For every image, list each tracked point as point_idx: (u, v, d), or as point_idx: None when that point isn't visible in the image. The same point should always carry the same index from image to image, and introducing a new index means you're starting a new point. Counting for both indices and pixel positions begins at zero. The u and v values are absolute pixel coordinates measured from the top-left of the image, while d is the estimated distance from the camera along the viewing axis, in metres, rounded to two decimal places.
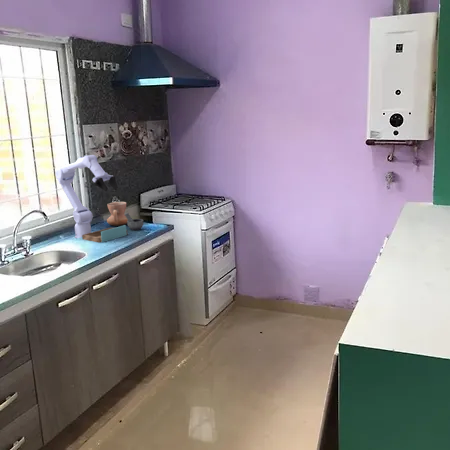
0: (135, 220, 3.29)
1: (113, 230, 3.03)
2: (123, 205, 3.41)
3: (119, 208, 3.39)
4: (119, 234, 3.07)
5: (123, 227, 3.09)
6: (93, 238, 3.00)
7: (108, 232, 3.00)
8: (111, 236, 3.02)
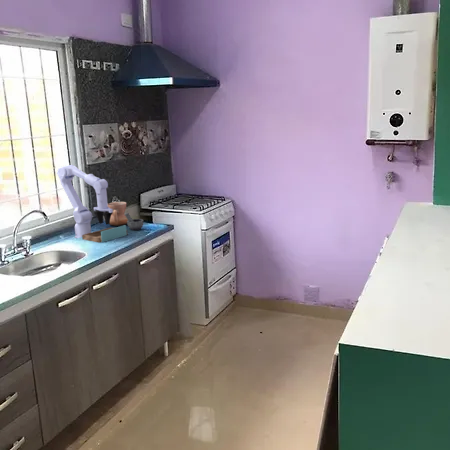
0: (135, 220, 3.29)
1: (113, 230, 3.03)
2: (123, 205, 3.41)
3: (119, 208, 3.39)
4: (119, 234, 3.07)
5: (123, 227, 3.09)
6: (93, 238, 3.00)
7: (108, 232, 3.00)
8: (111, 236, 3.02)
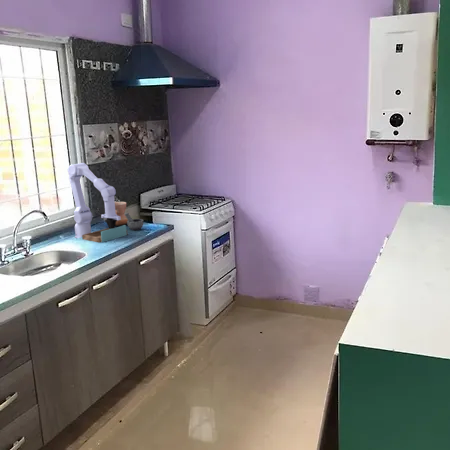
0: (135, 220, 3.29)
1: (113, 230, 3.03)
2: (123, 205, 3.41)
3: (119, 208, 3.39)
4: (119, 234, 3.07)
5: (123, 227, 3.09)
6: (93, 238, 3.00)
7: (108, 232, 3.00)
8: (111, 236, 3.02)
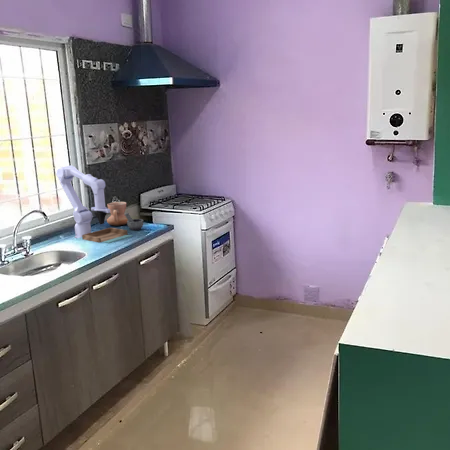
0: (135, 220, 3.29)
1: None
2: (123, 205, 3.41)
3: (119, 208, 3.39)
4: (121, 238, 3.07)
5: None
6: (93, 238, 3.00)
7: (113, 241, 2.99)
8: None
